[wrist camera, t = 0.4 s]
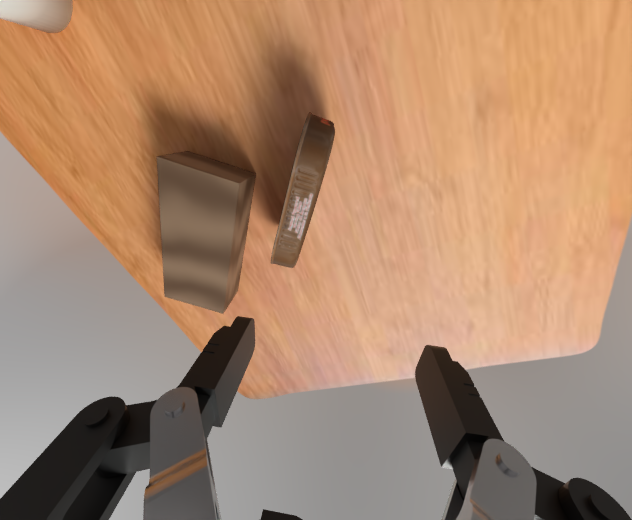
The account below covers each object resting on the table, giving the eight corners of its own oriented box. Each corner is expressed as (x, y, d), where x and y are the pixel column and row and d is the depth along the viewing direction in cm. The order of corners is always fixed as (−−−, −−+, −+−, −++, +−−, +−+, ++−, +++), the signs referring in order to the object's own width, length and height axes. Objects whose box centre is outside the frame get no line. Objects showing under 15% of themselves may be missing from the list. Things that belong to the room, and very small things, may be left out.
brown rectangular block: (187, 150, 27) (156, 156, 22) (256, 173, 27) (239, 183, 23) (186, 275, 36) (164, 296, 31) (237, 291, 36) (223, 313, 32)
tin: (311, 112, 23) (297, 108, 16) (341, 123, 24) (340, 123, 16) (279, 240, 31) (259, 277, 24) (302, 248, 31) (289, 286, 24)
